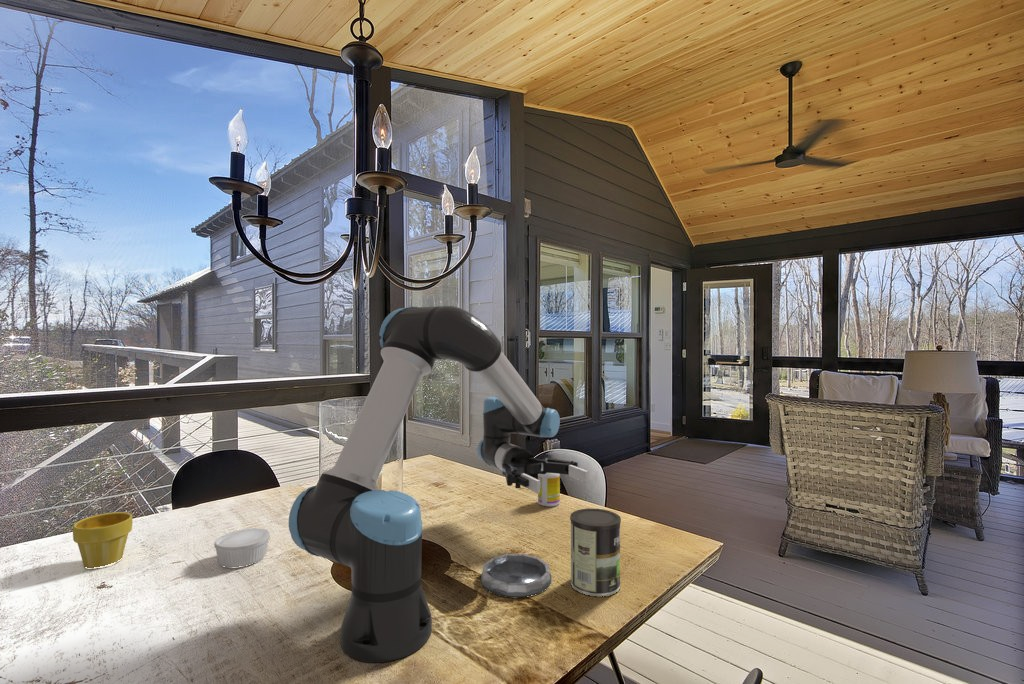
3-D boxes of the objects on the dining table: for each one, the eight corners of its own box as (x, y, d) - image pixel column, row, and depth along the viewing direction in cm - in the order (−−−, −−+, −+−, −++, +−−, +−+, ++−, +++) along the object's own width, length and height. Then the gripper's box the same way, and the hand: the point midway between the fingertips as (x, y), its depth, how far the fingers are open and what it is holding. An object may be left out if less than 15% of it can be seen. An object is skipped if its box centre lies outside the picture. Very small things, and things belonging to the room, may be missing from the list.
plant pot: (137, 562, 112) (136, 519, 112) (76, 578, 104) (76, 532, 104) (128, 548, 119) (127, 508, 119) (70, 563, 111) (70, 520, 111)
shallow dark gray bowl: (503, 605, 94) (503, 593, 94) (469, 573, 107) (469, 562, 107) (565, 585, 102) (565, 574, 101) (526, 557, 114) (526, 547, 114)
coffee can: (620, 574, 106) (620, 509, 106) (620, 600, 96) (621, 527, 96) (572, 570, 108) (572, 506, 108) (567, 594, 98) (568, 523, 98)
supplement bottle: (563, 502, 152) (563, 460, 152) (553, 508, 146) (553, 465, 146) (544, 498, 156) (544, 458, 155) (533, 504, 150) (534, 462, 150)
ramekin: (224, 551, 117) (223, 529, 117) (275, 547, 120) (274, 525, 120) (206, 574, 107) (206, 549, 107) (263, 568, 109) (262, 544, 109)
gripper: (553, 467, 137) (605, 488, 118) (472, 482, 124) (516, 508, 106) (553, 440, 136) (605, 457, 118) (472, 452, 124) (516, 474, 105)
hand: (563, 481), depth 112 cm, fingers open, 13 cm apart
